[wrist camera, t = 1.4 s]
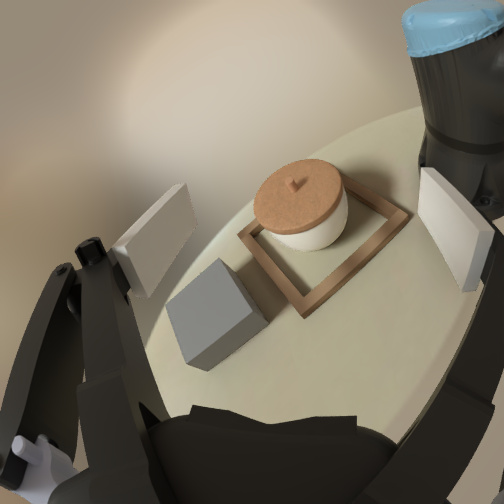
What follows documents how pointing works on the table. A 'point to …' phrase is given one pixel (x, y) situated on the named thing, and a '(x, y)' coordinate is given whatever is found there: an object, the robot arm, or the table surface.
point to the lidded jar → (303, 205)
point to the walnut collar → (348, 267)
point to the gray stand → (214, 316)
